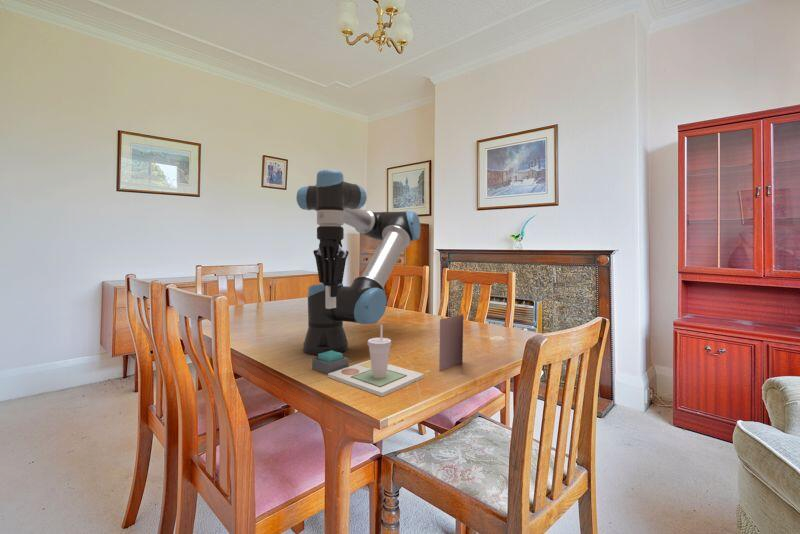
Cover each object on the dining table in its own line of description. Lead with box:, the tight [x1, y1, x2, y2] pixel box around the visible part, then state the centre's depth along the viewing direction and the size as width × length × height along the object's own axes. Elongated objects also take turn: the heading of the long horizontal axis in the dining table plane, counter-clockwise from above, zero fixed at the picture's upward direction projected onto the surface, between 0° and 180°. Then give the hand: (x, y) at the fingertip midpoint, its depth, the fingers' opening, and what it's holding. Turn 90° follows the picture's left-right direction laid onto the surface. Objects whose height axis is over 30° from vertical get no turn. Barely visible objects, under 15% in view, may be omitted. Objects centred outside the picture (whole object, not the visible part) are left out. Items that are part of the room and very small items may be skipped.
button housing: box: [311, 356, 350, 375], centre depth 109 cm, size 7×7×3 cm
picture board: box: [327, 359, 425, 398], centre depth 102 cm, size 20×17×1 cm
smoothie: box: [367, 324, 392, 379], centre depth 100 cm, size 6×6×14 cm
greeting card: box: [438, 314, 464, 372], centre depth 110 cm, size 11×7×15 cm, turn 135°
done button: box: [317, 350, 344, 363], centre depth 109 cm, size 5×5×3 cm
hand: (330, 307), depth 108 cm, fingers closed
